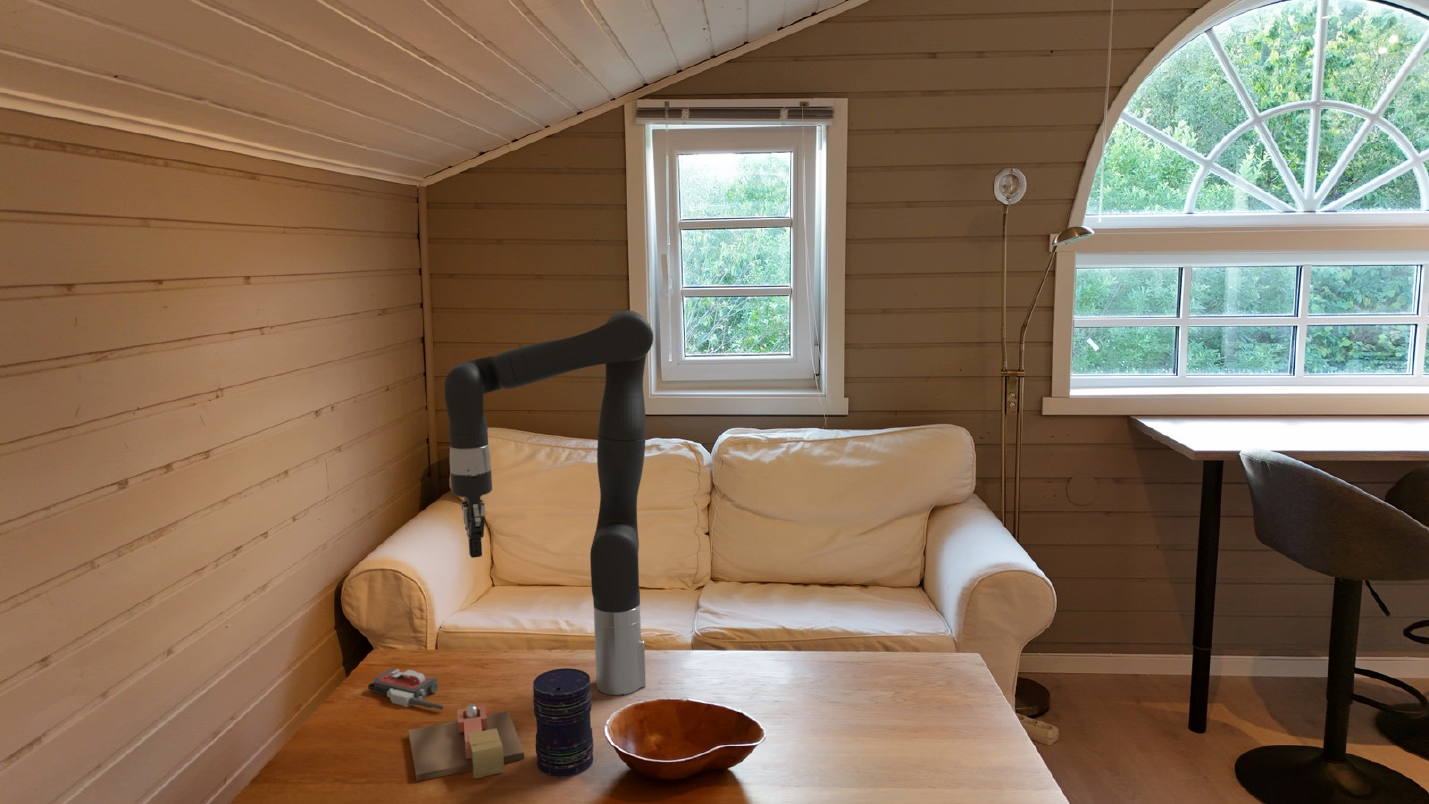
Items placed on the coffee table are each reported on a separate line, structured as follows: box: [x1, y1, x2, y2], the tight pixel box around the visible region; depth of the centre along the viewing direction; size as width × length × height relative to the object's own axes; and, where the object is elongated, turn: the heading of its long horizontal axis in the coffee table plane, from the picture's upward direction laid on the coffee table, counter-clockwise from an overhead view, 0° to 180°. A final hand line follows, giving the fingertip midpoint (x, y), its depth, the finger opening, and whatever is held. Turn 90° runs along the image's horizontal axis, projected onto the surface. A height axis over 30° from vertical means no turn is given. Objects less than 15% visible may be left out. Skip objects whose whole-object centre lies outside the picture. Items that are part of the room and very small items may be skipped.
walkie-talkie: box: [367, 668, 445, 710], centre depth 189 cm, size 9×4×20 cm
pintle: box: [465, 703, 477, 719], centre depth 174 cm, size 2×2×5 cm
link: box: [456, 705, 487, 759], centre depth 170 cm, size 14×5×2 cm, turn 16°
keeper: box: [467, 728, 505, 779], centre depth 163 cm, size 5×6×5 cm
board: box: [408, 710, 525, 782], centre depth 169 cm, size 18×16×1 cm
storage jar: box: [532, 667, 594, 779], centre depth 163 cm, size 10×10×15 cm
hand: (475, 556), depth 183 cm, fingers closed
